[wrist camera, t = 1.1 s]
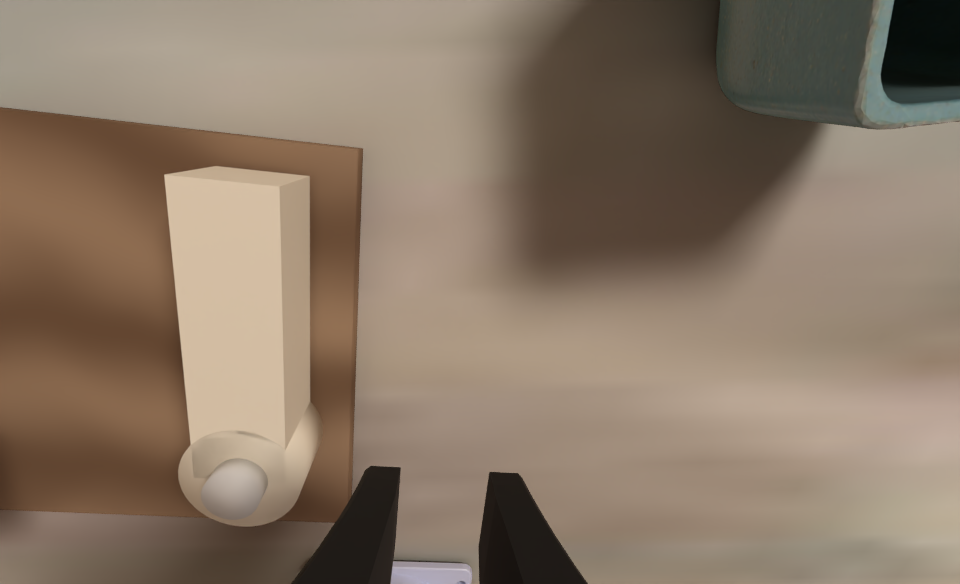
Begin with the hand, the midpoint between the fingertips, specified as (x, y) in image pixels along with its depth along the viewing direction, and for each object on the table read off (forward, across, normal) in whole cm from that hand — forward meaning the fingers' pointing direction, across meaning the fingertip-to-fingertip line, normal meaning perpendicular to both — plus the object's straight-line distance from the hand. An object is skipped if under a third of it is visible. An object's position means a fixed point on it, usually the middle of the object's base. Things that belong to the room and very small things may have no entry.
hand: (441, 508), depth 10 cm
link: (+9, +6, 0) cm, 11 cm away
